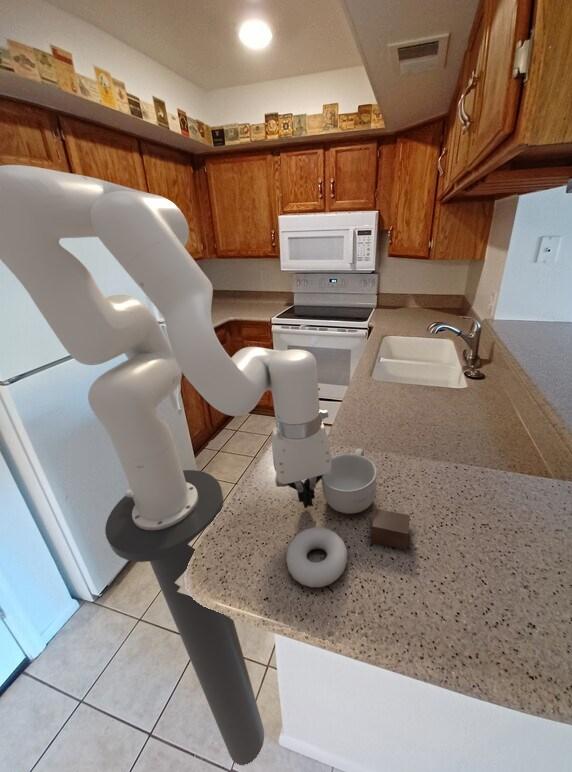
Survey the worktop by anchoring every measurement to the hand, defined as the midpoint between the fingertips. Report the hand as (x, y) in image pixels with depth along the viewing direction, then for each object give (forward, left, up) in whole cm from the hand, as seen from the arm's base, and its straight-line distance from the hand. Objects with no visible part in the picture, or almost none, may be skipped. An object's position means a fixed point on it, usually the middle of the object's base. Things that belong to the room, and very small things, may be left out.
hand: (306, 501), depth 64 cm
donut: (+5, -10, -2) cm, 12 cm away
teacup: (+8, +6, -2) cm, 10 cm away
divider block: (+16, -2, -2) cm, 17 cm away
